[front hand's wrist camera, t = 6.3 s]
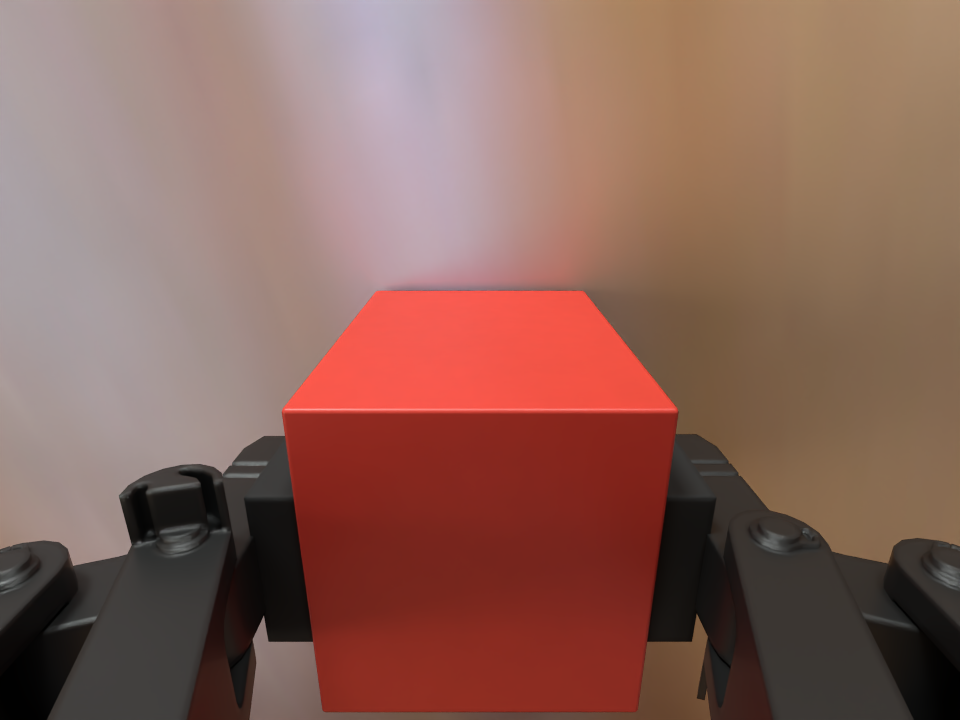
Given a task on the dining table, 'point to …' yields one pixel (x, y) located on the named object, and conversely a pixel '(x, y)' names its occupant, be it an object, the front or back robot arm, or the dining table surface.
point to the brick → (480, 505)
